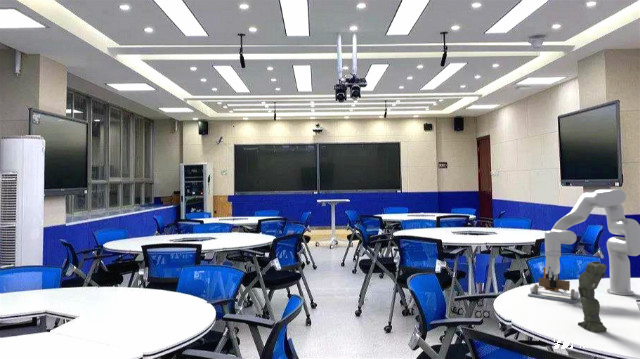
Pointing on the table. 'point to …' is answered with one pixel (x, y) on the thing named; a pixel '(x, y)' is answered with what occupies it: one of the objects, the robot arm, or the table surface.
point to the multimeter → (548, 278)
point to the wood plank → (559, 283)
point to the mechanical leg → (591, 296)
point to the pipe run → (554, 295)
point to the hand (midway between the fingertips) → (553, 287)
